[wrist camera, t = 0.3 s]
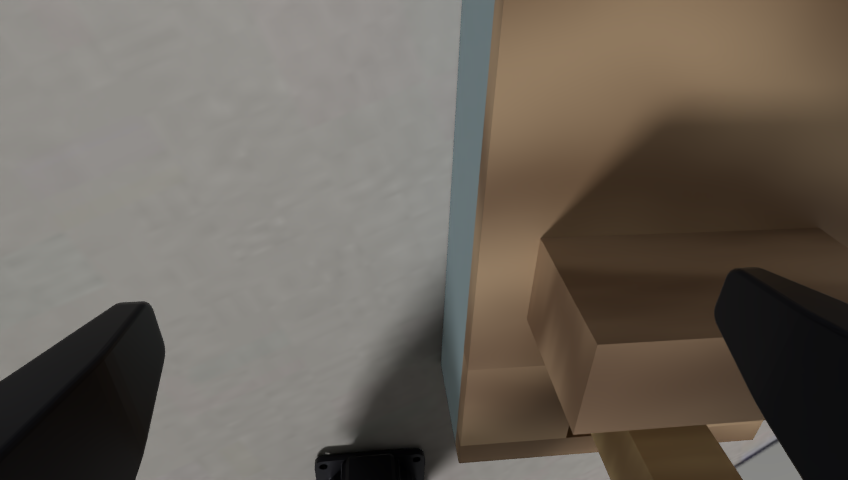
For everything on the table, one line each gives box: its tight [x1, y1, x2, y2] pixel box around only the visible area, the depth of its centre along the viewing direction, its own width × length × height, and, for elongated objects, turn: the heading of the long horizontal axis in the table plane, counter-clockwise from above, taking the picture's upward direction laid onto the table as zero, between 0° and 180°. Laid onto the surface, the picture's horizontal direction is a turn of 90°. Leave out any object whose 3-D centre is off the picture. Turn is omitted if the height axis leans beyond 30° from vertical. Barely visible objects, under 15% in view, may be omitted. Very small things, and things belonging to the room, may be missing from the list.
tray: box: [441, 0, 495, 443], centre depth 22 cm, size 20×14×5 cm
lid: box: [455, 0, 848, 463], centre depth 17 cm, size 20×14×6 cm
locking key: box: [591, 425, 743, 480], centre depth 23 cm, size 3×3×10 cm
